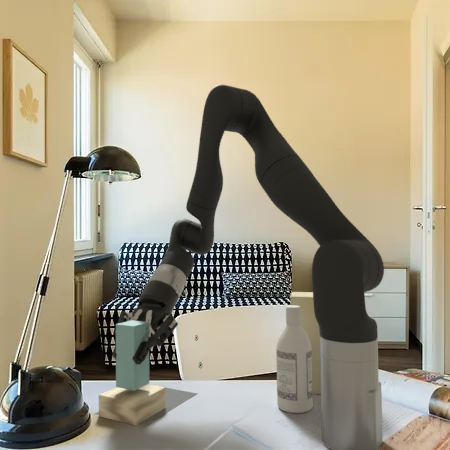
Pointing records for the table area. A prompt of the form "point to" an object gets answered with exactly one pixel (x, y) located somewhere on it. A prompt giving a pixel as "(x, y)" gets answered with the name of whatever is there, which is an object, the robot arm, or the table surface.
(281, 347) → the bath foam
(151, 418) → the mat
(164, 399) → the base block
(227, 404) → the table surface
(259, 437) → the table surface
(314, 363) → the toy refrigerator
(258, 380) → the table surface
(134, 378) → the pillar
